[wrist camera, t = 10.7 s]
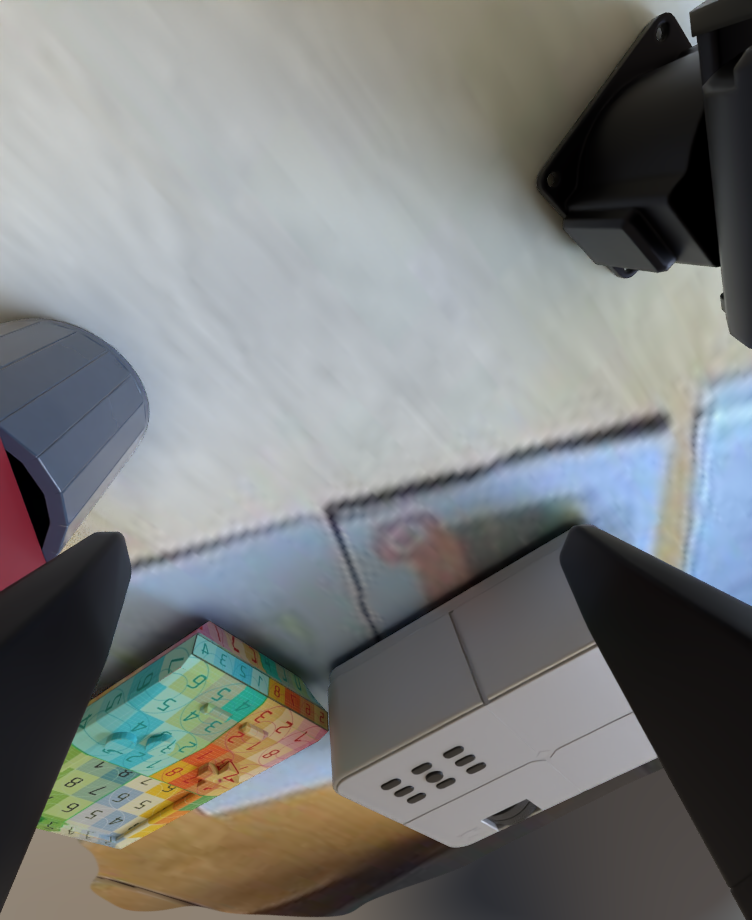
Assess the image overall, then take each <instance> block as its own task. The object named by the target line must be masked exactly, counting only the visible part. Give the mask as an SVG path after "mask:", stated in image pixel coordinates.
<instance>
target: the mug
mask: <svg viewBox="0 0 752 920" xmlns="http://www.w3.org/2000/svg"><path fill="white" fill-rule="evenodd" d="M148 422H149V405H148V400H147V396H146V392H145V390H144V387H143V385H142V383H141V381H140V379H139V377H138V375H137V374H136V372H135V371H134V369H133V368H132V367H131V365H130V364H129V363H128V362H127V361H126V360H125V358H124V357H123V356H122V355H121V354H120V353H118V352H117V351H116V350H115V349H114V348H113V347H112V346H110V345H109V344H107V343H106V342H105V341H103V340H102V339H100V338H99V337H97V336H95V335H93V334H92V333H90V332H88V331H85V330H83V329H81V328H79V327H76V326H73V325H70V324H68V323H64V322H60V321H55V320H49V319H40V318H28V319H19V320H14V321H8V322H4V323H1V324H0V438H1V440H2V443H3V446H4V448H5V451H6V454H7V457H8V459H9V462H10V465H11V468H12V470H13V473H14V476H15V479H16V481H17V484H18V487H19V490H20V492H21V495H22V498H23V501H24V503H25V506H26V509H27V512H28V514H29V517H30V520H31V523H32V525H33V528H34V531H35V534H36V536H37V539H38V542H39V545H40V547H41V550H42V553H43V555H44V558H45V561H46V563H47V562H48V561H50V560H51V559H53V558H55V557H56V556H57V555H58V554H59V553H60V552H61V550H62V549H63V548H64V546H65V545H66V544H67V542H68V541H69V540H70V538H71V537H72V536H73V534H74V533H75V531H76V530H77V529H78V527H79V526H80V525H81V523H82V522H83V521H84V519H85V518H86V517H87V515H88V514H89V513H90V511H91V510H92V509H93V507H94V506H95V504H96V503H97V502H98V500H99V499H100V498H101V496H102V495H103V494H104V492H105V491H106V490H107V488H108V487H109V486H110V484H111V483H112V481H113V480H114V479H115V477H116V476H117V475H118V473H119V472H120V471H121V469H122V468H123V467H124V465H125V464H126V463H127V461H128V460H129V459H130V457H131V456H132V454H133V453H134V452H135V450H136V449H137V448H138V446H139V443H140V442H141V440H142V439H143V437H144V435H145V432H146V430H147V426H148Z"/></svg>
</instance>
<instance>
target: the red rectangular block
mask: <svg viewBox="0 0 752 920" xmlns="http://www.w3.org/2000/svg"><path fill="white" fill-rule="evenodd" d="M45 563H46V561H45V558H44V555H43V553H42V550H41V547H40V545H39V542H38V539H37V536H36V534H35V531H34V528H33V525H32V523H31V520H30V517H29V514H28V512H27V509H26V506H25V503H24V501H23V498H22V495H21V492H20V490H19V487H18V484H17V481H16V479H15V476H14V473H13V470H12V468H11V465H10V462H9V459H8V457H7V454H6V451H5V448H4V446H3V443H2V440H1V438H0V591H2V590H3V589H5V588H6V587H8V586H10V585H11V584H13V583H14V582H16V581H18V580H19V579H21V578H22V577H24V576H26V575H27V574H29V573H30V572H32V571H34V570H35V569H37V568H39V567H40V566H42V565H43V564H45Z"/></svg>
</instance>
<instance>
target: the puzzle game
mask: <svg viewBox="0 0 752 920" xmlns="http://www.w3.org/2000/svg"><path fill="white" fill-rule="evenodd" d="M328 731H329V729H328V712H327V711H326V710H325V709H324V708H323V707H322V706H321V705H320V704H319V703H318V701H317V700H316V699H315V698H314V696H313V695H312V694H311V692H310V691H309V690H308V688H307V687H306V685H305V684H304V683H303V681H302V680H301V679H300V678H299V677H298V676H296V675H295V674H293V673H291V672H290V671H288V670H287V669H285V668H284V667H282V666H280V665H279V664H277V663H276V662H274V661H272V660H271V659H269V658H268V657H266V656H264V655H263V654H261V653H260V652H258V651H257V650H255V649H253V648H252V647H250V646H249V645H247V644H245V643H244V642H242V641H241V640H239V639H238V638H236V637H234V636H233V635H231V634H230V633H228V632H226V631H225V630H223V629H222V628H220V627H219V626H217V625H215V624H214V623H212V622H211V621H208V622H207V623H205V624H204V625H202V626H201V627H199V628H198V629H196V630H195V631H193V632H192V633H190V634H189V635H188V636H186V637H185V638H183V639H182V640H180V641H179V642H177V643H176V644H174V645H173V646H171V647H170V648H168V649H167V650H165V651H164V652H162V653H161V654H159V655H158V656H156V657H155V658H153V659H152V660H150V661H149V662H147V663H146V664H144V665H143V666H141V667H140V668H138V669H137V670H135V671H134V672H132V673H131V674H129V675H128V676H126V677H125V678H123V679H122V680H120V681H119V682H117V683H116V684H114V685H113V686H111V687H110V688H108V689H107V690H105V691H104V692H102V693H101V694H100V695H98V696H97V697H95V698H94V699H92V700H91V701H89V703H88V706H87V708H86V711H85V713H84V715H83V718H82V720H81V722H80V725H79V727H78V730H77V732H76V734H75V737H74V739H73V741H72V744H71V746H70V749H69V751H68V753H67V756H66V758H65V761H64V763H63V765H62V768H61V770H60V772H59V775H58V777H57V780H56V782H55V784H54V787H53V789H52V791H51V794H50V796H49V799H48V801H47V803H46V806H45V808H44V811H43V813H42V815H41V818H40V820H39V822H38V825H37V827H36V828H38V829H42V830H46V831H50V832H54V833H58V834H62V835H66V836H70V837H74V838H77V839H81V840H85V841H89V842H93V843H97V844H101V845H105V846H109V847H113V848H117V849H122V848H124V847H125V846H127V845H129V844H131V843H133V842H135V841H136V840H138V839H140V838H142V837H144V836H146V835H147V834H149V833H151V832H153V831H155V830H157V829H158V828H160V827H162V826H164V825H166V824H168V823H169V822H171V821H173V820H175V819H177V818H178V817H180V816H182V815H184V814H186V813H188V812H189V811H191V810H193V809H195V808H197V807H199V806H200V805H202V804H204V803H206V802H208V801H210V800H211V799H213V798H215V797H217V796H219V795H221V794H222V793H224V792H226V791H228V790H230V789H232V788H233V787H235V786H237V785H239V784H241V783H243V782H244V781H246V780H248V779H250V778H252V777H254V776H255V775H257V774H259V773H261V772H263V771H264V770H266V769H268V768H270V767H272V766H274V765H275V764H277V763H279V762H281V761H283V760H285V759H286V758H288V757H290V756H292V755H294V754H296V753H297V752H299V751H301V750H303V749H305V748H307V747H308V746H310V745H312V744H314V743H316V742H318V741H319V740H320V739H321V738H322V737H323V736H324V735H325V734H326V733H327V732H328Z"/></svg>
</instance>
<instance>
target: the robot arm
mask: <svg viewBox="0 0 752 920" xmlns="http://www.w3.org/2000/svg"><path fill="white" fill-rule="evenodd" d="M689 14H690V23H691V33H692V37H695V36H697V43H698V44H697V45H695V46H693V47H692V46H691V44H690V42H689V41H688V39H687V37H686V35H685V34H684V32H683V30H682V29H681V27H680V25H679V24H678V22H677V20H676V19H675V17H674V16H673V15H672V14H671V13H664V14H661V15H659V16H658V17H656V18H654V19H653V20H652V21H651V22H650V23H649V24H648V25H647V26H646V27H645V29H644V30H643V31H642V33H641V34H640V36H639V37H638V38H637V40H636V41H635V42H634V44H633V45H632V47H631V48H630V49H629V51H628V52H627V53H626V55H625V56H624V58H623V59H622V60H621V62H620V63H619V64H618V66H617V67H616V68H615V70H614V71H613V73H612V74H611V75H610V77H609V78H608V79H607V81H606V82H605V84H604V85H603V86H602V88H601V89H600V90H599V92H598V93H597V95H596V96H595V97H594V99H593V100H592V101H591V103H590V104H589V105H588V107H587V108H586V110H585V111H584V112H583V114H582V115H581V116H580V118H579V119H578V121H577V122H576V123H575V125H574V126H573V127H572V129H571V130H570V132H569V133H568V134H567V136H566V137H565V138H564V140H563V141H562V142H561V144H560V145H559V147H558V148H557V149H556V151H555V152H554V153H553V155H552V156H551V158H550V159H549V160H548V162H547V163H546V164H545V166H544V167H543V169H542V170H541V171H540V173H539V175H538V177H537V188H538V190H539V192H540V193H541V194H542V195H543V196H544V197H545V199H546V200H547V201H548V202H549V203H550V204H551V205H552V206H553V207H554V208H555V210H556V211H557V212H558V213H559V214H560V215H561V216H562V217H563V218H564V220H563V229H564V230H565V231H566V232H567V233H568V235H569V236H570V237H571V238H572V239H573V240H574V241H575V242H576V243H577V244H578V245H579V246H580V247H581V249H582V250H583V251H584V252H585V253H586V254H587V255H588V256H589V257H590V258H591V259H592V260H593V262H594V263H595V264H598V265H605V266H607V267H608V268H609V269H610V270H611V271H612V272H613V273H614V274H615V275H616V276H617V277H621V278H629V277H632V276H633V275H634V274H635V273H636V272H637V271H638V270H642V271H649V272H656V273H658V272H664V271H667V270H668V269H669V268H670V267H671V266H672V265H673V264H674V263H681V264H691V265H700V266H710V267H720V266H721V274H722V283H723V293H722V294H721V295H720V298H721V307H722V310H723V311H724V312H725V313H726V320H727V324H728V328H729V332H730V334H731V335H732V336H733V337H735V338H736V339H737V340H739V341H740V342H741V343H743V344H744V345H745V346H747V347H748V348H751V349H752V0H706V1H705V2H703V3H702V4H701V5H699V6H698V7H696V8H695V9H693V10H692V11H691V12H689ZM658 27H659V28H661V31H662V35H661V39H660V41H659V40H657V37H656V33H657V29H658ZM549 174H553V176H554V182H553V184H552V185H551V186H549V185H548V183H547V178H548V176H549ZM624 268H627V269H626V270H624ZM559 561H560V565H561V568H562V570H563V572H564V575H565V577H566V579H567V582H568V584H569V586H570V589H571V591H572V593H573V596H574V598H575V600H576V603H577V605H578V607H579V610H580V612H581V614H582V617H583V619H584V621H585V623H586V625H587V628H588V630H589V631H590V633H591V635H592V637H593V639H594V641H595V643H596V645H597V647H598V648H599V650H600V652H601V654H602V656H603V658H604V659H605V661H606V663H607V665H608V667H609V669H610V670H611V672H612V674H613V676H614V678H615V680H616V681H617V683H618V685H619V687H620V689H621V691H622V692H623V694H624V696H625V698H626V700H627V702H628V703H629V705H630V707H631V709H632V711H633V713H634V714H635V716H636V718H637V720H638V722H639V724H640V725H641V727H642V729H643V731H644V733H645V735H646V736H647V738H648V740H649V742H650V744H651V746H652V747H653V749H654V751H655V753H656V755H657V757H658V758H659V760H660V762H661V764H662V766H663V768H664V769H665V771H666V773H667V775H668V777H669V779H670V780H671V782H672V784H673V786H674V787H675V789H676V791H677V793H678V795H679V797H680V799H681V801H682V802H683V804H684V806H685V808H686V810H687V812H688V813H689V815H690V817H691V819H692V821H693V823H694V825H695V826H696V828H697V830H698V832H699V833H700V835H701V837H702V839H703V841H704V843H705V845H706V846H707V848H708V850H709V852H710V854H711V856H712V858H713V859H714V861H715V863H716V865H717V867H718V869H719V870H720V872H721V874H722V876H723V878H724V880H725V881H726V883H727V885H728V886H729V887H730V888H731V893H732V895H733V897H734V899H735V900H736V902H737V904H738V906H739V908H740V910H741V911H742V913H743V915H744V917H745V919H746V920H752V606H750V605H748V604H746V603H744V602H742V601H740V600H738V599H736V598H734V597H732V596H730V595H728V594H726V593H725V592H723V591H721V590H719V589H717V588H715V587H713V586H711V585H709V584H707V583H705V582H703V581H701V580H699V579H697V578H695V577H693V576H691V575H689V574H687V573H685V572H683V571H681V570H679V569H677V568H675V567H673V566H671V565H669V564H667V563H665V562H664V561H662V560H660V559H658V558H656V557H654V556H652V555H650V554H648V553H646V552H644V551H642V550H640V549H638V548H636V547H634V546H632V545H630V544H628V543H626V542H624V541H622V540H620V539H618V538H616V537H614V536H612V535H610V534H608V533H606V532H605V531H603V530H601V529H599V528H597V527H595V526H592V525H575V526H573V527H572V528H571V529H570V530H569V532H568V535H567V537H566V540H565V542H564V544H563V547H562V549H561V552H560V556H559ZM130 578H131V563H130V559H129V555H128V551H127V546H126V542H125V538H124V536H123V535H122V534H121V533H120V532H96V533H94V534H92V535H90V536H88V537H87V538H85V539H84V540H82V541H80V542H79V543H77V544H76V545H74V546H72V547H71V548H69V549H67V550H66V551H64V552H63V553H61V554H59V555H58V556H56V557H55V558H53V559H51V560H50V561H48V562H47V563H45V564H43V565H42V566H40V567H39V568H37V569H35V570H34V571H32V572H30V573H29V574H27V575H26V576H24V577H22V578H21V579H19V580H18V581H16V582H14V583H13V584H11V585H10V586H8V587H6V588H5V589H3V590H2V591H0V912H1V910H2V908H3V906H4V903H5V901H6V899H7V896H8V894H9V891H10V889H11V887H12V884H13V882H14V879H15V877H16V875H17V872H18V870H19V867H20V865H21V863H22V860H23V858H24V855H25V853H26V851H27V849H28V846H29V844H30V841H31V839H32V837H33V834H34V832H35V829H36V827H37V825H38V822H39V820H40V818H41V815H42V813H43V811H44V808H45V806H46V803H47V801H48V799H49V796H50V794H51V791H52V789H53V787H54V784H55V782H56V780H57V777H58V775H59V772H60V770H61V768H62V765H63V763H64V761H65V758H66V756H67V753H68V751H69V749H70V746H71V744H72V741H73V739H74V737H75V734H76V732H77V730H78V727H79V725H80V722H81V720H82V718H83V715H84V713H85V711H86V708H87V706H88V703H89V701H90V699H91V696H92V694H93V692H94V689H95V687H96V684H97V682H98V680H99V677H100V675H101V672H102V670H103V667H104V665H105V662H106V660H107V657H108V653H109V650H110V647H111V644H112V641H113V637H114V634H115V630H116V627H117V623H118V620H119V617H120V613H121V610H122V606H123V603H124V599H125V596H126V593H127V589H128V586H129V582H130Z"/></svg>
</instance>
